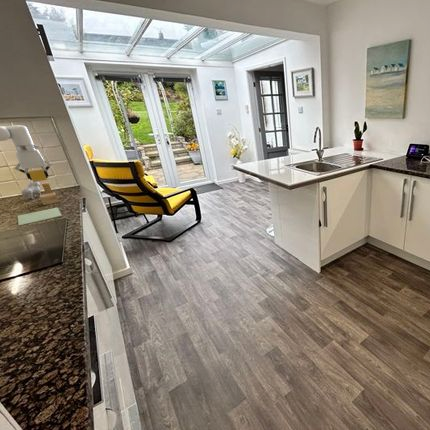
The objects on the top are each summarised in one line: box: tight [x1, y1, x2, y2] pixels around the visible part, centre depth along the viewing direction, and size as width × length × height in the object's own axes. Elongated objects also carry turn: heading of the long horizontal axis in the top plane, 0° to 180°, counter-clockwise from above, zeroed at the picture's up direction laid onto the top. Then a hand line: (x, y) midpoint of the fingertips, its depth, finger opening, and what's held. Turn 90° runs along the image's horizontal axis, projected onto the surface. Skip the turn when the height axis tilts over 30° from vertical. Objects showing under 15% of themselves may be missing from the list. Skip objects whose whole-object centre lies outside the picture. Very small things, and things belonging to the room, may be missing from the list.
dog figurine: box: [21, 180, 42, 201], centre depth 173 cm, size 5×13×11 cm, turn 12°
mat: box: [17, 207, 63, 227], centre depth 141 cm, size 20×16×1 cm
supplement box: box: [40, 181, 54, 194], centre depth 171 cm, size 3×3×10 cm
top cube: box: [28, 168, 48, 182], centre depth 156 cm, size 6×6×6 cm
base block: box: [38, 192, 60, 206], centre depth 162 cm, size 7×7×5 cm
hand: (39, 178), depth 157 cm, fingers closed on top cube, 6 cm apart
